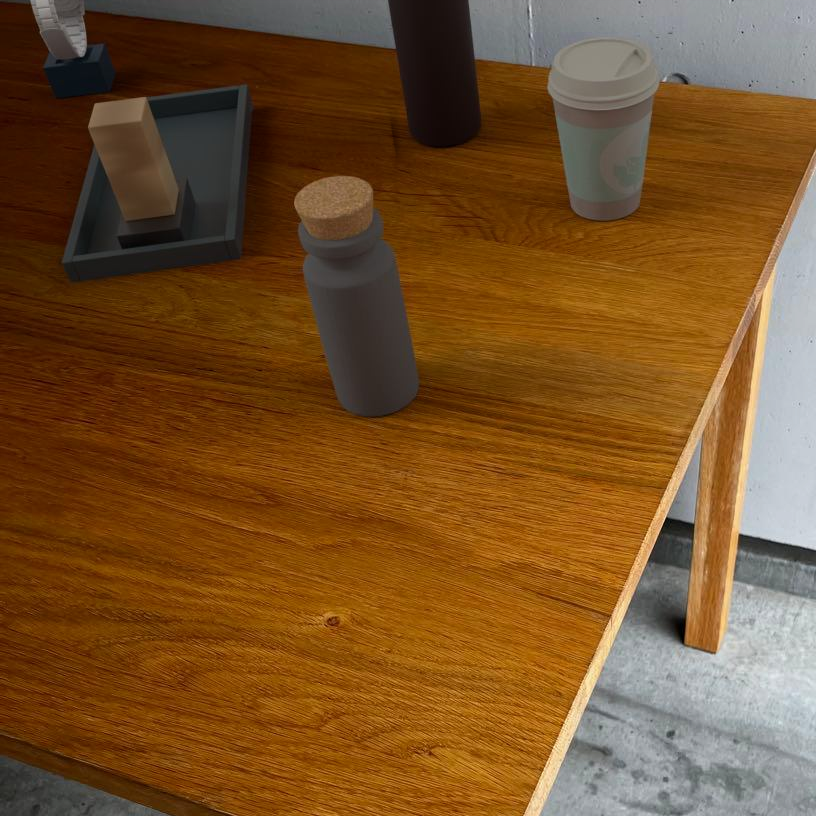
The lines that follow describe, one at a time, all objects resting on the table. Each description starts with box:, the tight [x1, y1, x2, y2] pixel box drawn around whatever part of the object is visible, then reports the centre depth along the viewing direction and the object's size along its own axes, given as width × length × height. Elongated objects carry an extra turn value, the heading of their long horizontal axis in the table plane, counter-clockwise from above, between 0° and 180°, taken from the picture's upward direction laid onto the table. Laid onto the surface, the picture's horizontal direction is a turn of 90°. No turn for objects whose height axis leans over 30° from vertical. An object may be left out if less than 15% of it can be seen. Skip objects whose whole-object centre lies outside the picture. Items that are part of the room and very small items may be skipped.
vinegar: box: [387, 0, 482, 148], centre depth 90 cm, size 7×7×20 cm
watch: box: [30, 0, 116, 99], centre depth 105 cm, size 6×8×11 cm
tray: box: [61, 84, 255, 283], centre depth 93 cm, size 14×28×2 cm, turn 8°
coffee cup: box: [546, 36, 660, 222], centre depth 83 cm, size 8×8×12 cm
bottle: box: [293, 175, 420, 418], centre depth 68 cm, size 6×6×15 cm
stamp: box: [87, 96, 195, 249], centre depth 84 cm, size 5×8×10 cm, turn 8°
